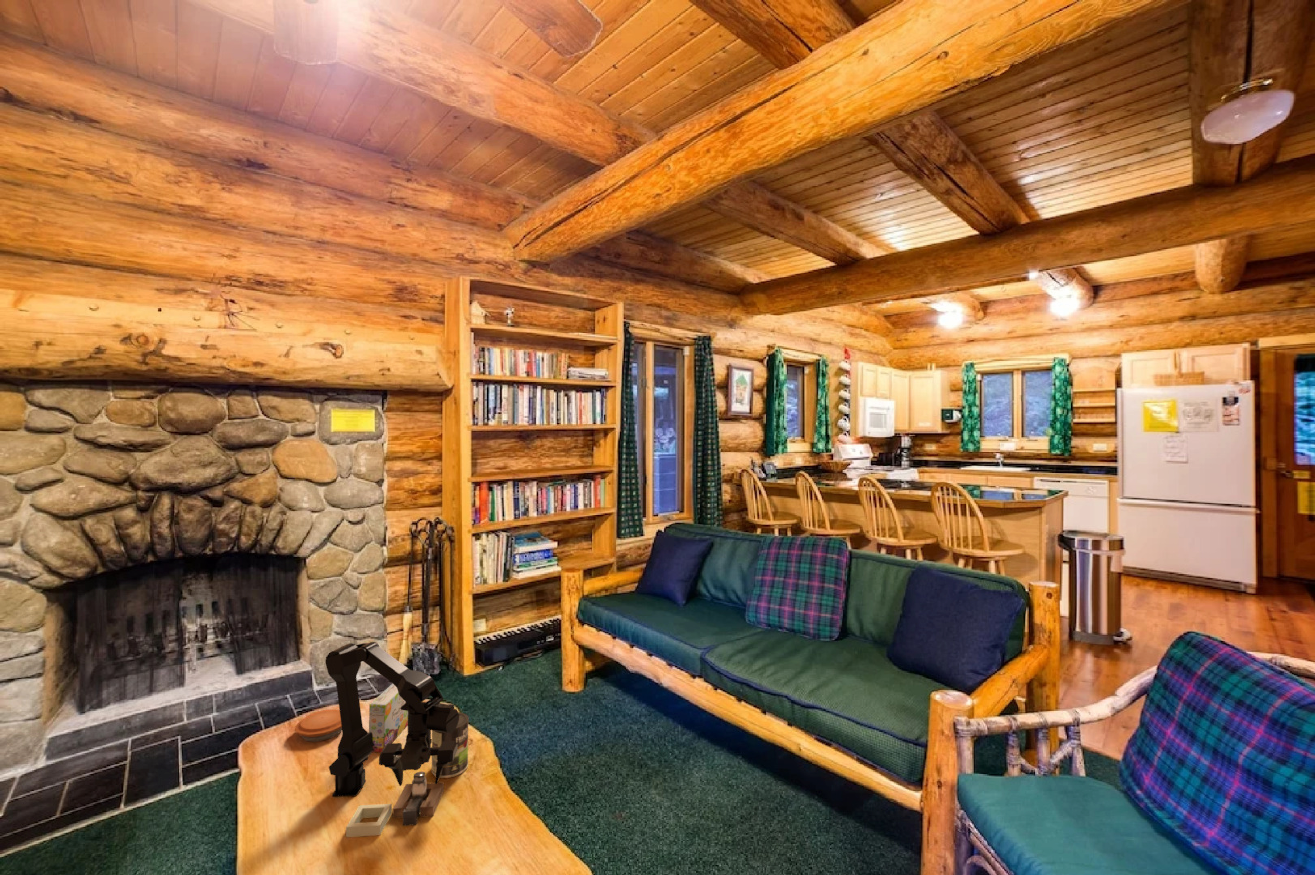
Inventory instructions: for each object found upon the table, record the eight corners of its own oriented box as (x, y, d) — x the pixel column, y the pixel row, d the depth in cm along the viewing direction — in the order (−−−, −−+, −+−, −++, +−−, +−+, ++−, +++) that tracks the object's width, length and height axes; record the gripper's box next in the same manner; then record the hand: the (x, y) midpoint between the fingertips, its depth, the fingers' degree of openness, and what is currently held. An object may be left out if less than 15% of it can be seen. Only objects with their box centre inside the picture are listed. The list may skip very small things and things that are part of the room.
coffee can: (474, 760, 173) (475, 714, 172) (456, 780, 162) (456, 732, 162) (444, 755, 175) (444, 710, 174) (423, 775, 165) (424, 727, 164)
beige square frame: (345, 837, 140) (346, 827, 140) (359, 815, 148) (359, 805, 148) (380, 835, 141) (380, 825, 141) (391, 813, 149) (391, 803, 149)
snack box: (385, 753, 175) (385, 705, 175) (367, 753, 175) (367, 704, 175) (415, 717, 197) (415, 674, 196) (399, 717, 197) (399, 674, 196)
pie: (354, 717, 196) (354, 703, 196) (342, 742, 181) (342, 726, 181) (303, 723, 192) (303, 708, 192) (287, 749, 177) (287, 733, 177)
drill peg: (409, 809, 150) (410, 779, 150) (414, 800, 154) (414, 771, 154) (424, 808, 151) (424, 778, 150) (428, 799, 154) (428, 770, 154)
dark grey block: (402, 825, 144) (402, 812, 144) (409, 812, 149) (409, 799, 149) (415, 825, 144) (416, 811, 144) (421, 811, 149) (422, 798, 149)
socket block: (392, 818, 147) (393, 808, 147) (405, 793, 157) (405, 784, 157) (433, 816, 148) (433, 806, 148) (443, 791, 158) (443, 782, 158)
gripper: (370, 744, 143) (370, 806, 143) (447, 741, 145) (447, 802, 145) (386, 721, 154) (386, 778, 154) (458, 719, 156) (457, 775, 156)
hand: (418, 784), depth 152 cm, fingers open, 9 cm apart
